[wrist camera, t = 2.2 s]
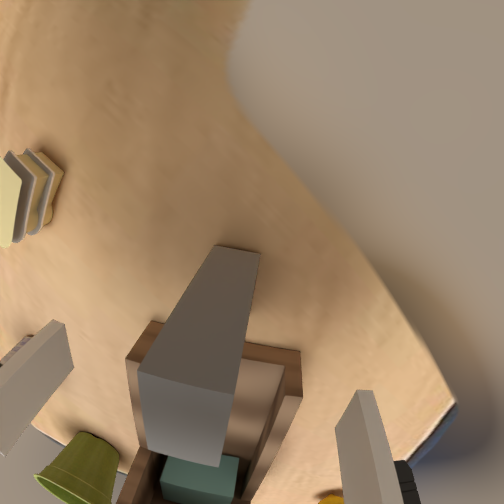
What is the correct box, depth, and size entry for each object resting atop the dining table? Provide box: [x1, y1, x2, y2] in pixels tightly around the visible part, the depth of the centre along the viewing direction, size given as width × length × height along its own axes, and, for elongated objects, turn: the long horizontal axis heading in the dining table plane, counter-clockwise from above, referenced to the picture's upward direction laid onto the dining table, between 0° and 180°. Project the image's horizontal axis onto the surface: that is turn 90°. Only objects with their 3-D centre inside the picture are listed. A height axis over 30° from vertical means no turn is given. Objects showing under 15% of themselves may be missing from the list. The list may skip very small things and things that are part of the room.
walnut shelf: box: [116, 321, 303, 504], centre depth 20 cm, size 22×12×13 cm, turn 170°
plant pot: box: [34, 432, 119, 504], centre depth 27 cm, size 12×12×11 cm
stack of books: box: [0, 148, 64, 248], centre depth 17 cm, size 10×9×6 cm
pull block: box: [137, 245, 260, 504], centre depth 18 cm, size 28×7×12 cm, turn 170°
